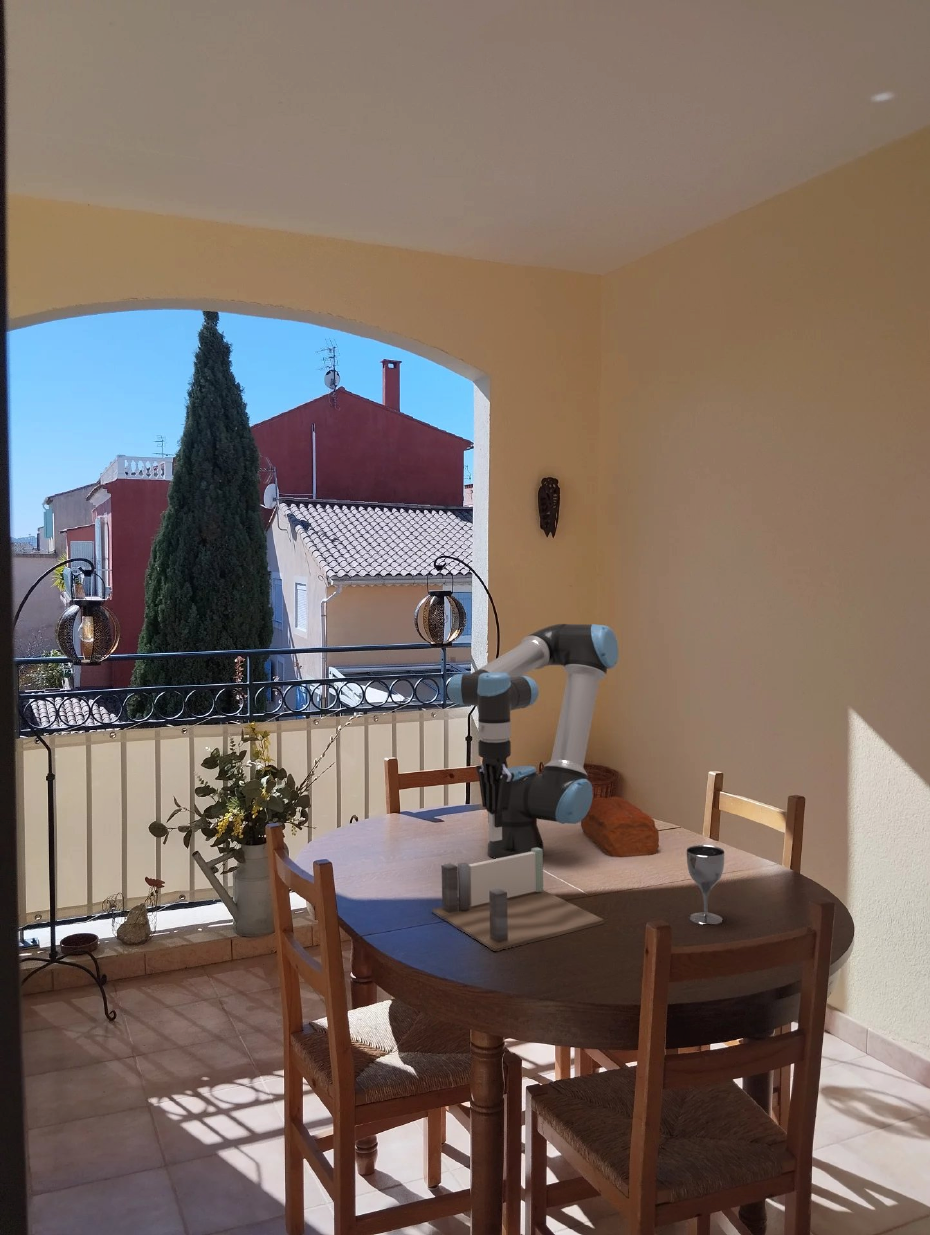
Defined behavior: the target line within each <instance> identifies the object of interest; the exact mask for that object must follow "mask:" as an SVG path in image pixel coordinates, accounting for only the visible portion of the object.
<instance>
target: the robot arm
mask: <svg viewBox="0 0 930 1235" xmlns="http://www.w3.org/2000/svg"><path fill="white" fill-rule="evenodd" d="M618 660H619V644H618V640H617V637H616V634H615V632H614V631H613V629H612V628H611V627H610V626H608V625H605V624H597V623H592V624H584V623H583V624H581V623H580V624H579V623H578V624H577V623H569V624H568V623H558V624H553V625H552V624H551V625H549V626H547V627H544V628H541V629H538V630H537V631H534V632H532V633H531V634H529V635H527V636H524V637H523V639H522V640H521V641H520V643H519V645H517V646H516V647H514V648H512V649H511V650H509V651H507V652H505V653H504V654H502V655H501V656H498V657H497V658H496V659H493V660H491V661H490V662H489V663H486V664H485V665H484V666H482V667H480V668H478V669H477V670H475V671H473V672H471V673H469V674H465V673H460V674H454V675H452V676H451V678H450V679H449V682H448V686H447V692H448V694H447V695H448V697H449V700H450V701H451V702H452V703H454V704H456V705H461V706H462V705H463V706H474V707H475V706H476V707H478V709H477V712H478V714H477V716H478V717H477V718H478V719H477V721H478V725H477V726H478V727H477V730H478V738H479V739H480V740H479V741H478V742H477V743H478V747H477V748H478V749H477V750H478V756H479V757H480V758H482V759H481V760H482V762H481V764H478V765H476V767H475V768H476V772H477V775H478V783H479V789H480V796H481V804H482V807H483V808H486V811H487V815H488V820H487V821H488V842H487V855H488V854H489V855H490V856H491V857H490V856H489V855H488V856H489V857H490V858H492V857H495V858H497V859H498V858H502V857H507V856H512V855H517V854H522V853H527V852H531V849H532V848H537V847H538V848H540V849H543V855H544V854H545V844H544V842H543V839H542V835H541V832H540V829H539V826H538V820H543V821H548V822H549V821H550V822H554V823H555V822H557V823H560V824H561V825H562V824H572V825H574V824H578V823H581V821H582V819H583V818H585V816H586V815H587V813H588V811H589V809H590V806H591V803H592V799H593V798H594V794H593V791H594V789H593V785H592V783H591V782H590V780H588V773H587V772H586V770H585V768H584V763H585V759H586V754H587V749H588V745H589V738H590V732H591V726H592V721H593V716H594V711H595V706H596V700H597V694H598V690H599V683H600V682H601V681H602V680H604V679H605V678H606V677H607V671H608V670H610V669H613V668H615V667H616V664H617V663H618ZM547 666H561V667H562V668H563V670H564V672H565V674H566V675H567V676H566V677H567V678H566V682H565V688H564V692H563V696H562V697H563V698H562V703H561V707H560V714H559V719H558V724H557V728H556V732H555V738H554V742H553V749H552V754H551V757H550V758H551V759H550V761H549V762H548V763H546V764H544V765H543V770H542V773H537V772H538V771H537V768H536V766H533V765H519V766H518V765H517V766H511V767H509V765H508V763H507V759H508V757H510V756H511V754H512V750H511V749H512V748H511V747H512V744H511V742H512V741H510V738H511V737H512V732H511V731H512V728H511V726H512V725H511V722H512V721H511V711H515V710H519V709H526V708H527V707H529V706H532V705H534V704H535V702H536V701H537V700H538V698H539V694H540V693H539V687H538V684H537V683H536V680H534V679H533V678H532V677H530V676H526V675H527V674H528V673H530V672H532V671H533V670H540V669H543V668H544V667H547Z"/></svg>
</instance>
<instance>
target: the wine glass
mask: <svg viewBox="0 0 930 1235" xmlns="http://www.w3.org/2000/svg"><path fill="white" fill-rule="evenodd" d="M686 864H687V869H688V873H689V876H690V878H691V879H692V880H693V882H694V883H695V884H696V885H697V886H698V888H699V889H700V890H701V891H700V892H701V893H702V900H703V912H694V913H692V914H689V916H690V917H688V919H689V918H690V919H689V920H690V921H691V922H693V923H694V924H697V925H699V924H700V925H703V924H715V925H719V924H721V923H723V921H722V920H723V918H722V916H721V915H718V914H716V913H712V912H709V911H708V902H709V894H710V891H711V890H712V889H713V887H714V886H715V885H716V884H717V883H718V882H719V881H720V880H721V878H722V876H723V873H724V868H725V851H724V849H722V848H720V847H717V846H714V845H707V844H704V845H703V844H700V845H693V846H692V845H691V846H689V847H687V848H686Z"/></svg>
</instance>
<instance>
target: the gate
mask: <svg viewBox="0 0 930 1235" xmlns="http://www.w3.org/2000/svg"><path fill="white" fill-rule="evenodd" d="M543 856H544V854H543V849H540V848H538V847H537V848H532V849H531V852H527V853H522V854H517V855H512V856H507V857H502V858H498V859H494V858H492V859H488V860H484V861H480V862H474V863H470V864H469V863H467V862H460V863H458V864H457V867H458V903H459V910H462V911H465V910H469V905H471V906H474V905H478V904H483V903H487V902H489V890H494V889H498V888H500V889H501V890H503V891H505V892H507V898H509V897H513V896H517V895H521V894H526V893H530V892H534V891H535V892H540V891H543V890H544V865H543V864H544V863H543V862H544V861H543Z"/></svg>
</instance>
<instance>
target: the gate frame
mask: <svg viewBox="0 0 930 1235" xmlns="http://www.w3.org/2000/svg"><path fill="white" fill-rule="evenodd" d="M440 867H441V898H442V899H441V905H442V906H441V907H437V908H433V909H431V912H432V911H434V912H435V913H437V915H439V916H441V917H442V918H444V919H445V920H447V921H448V922H450V923H451V924H453V925H455V926H456V927H457V928H459V929H461V930H462V931H463V932H465V933H467V934H469V935H470V936H472V937H473V938H475V939H476V940H478V941H479V942H481V943H483V944H484V945H486V946H487V947H489V948H490V949H492V950H493V951H498V952H500V951H499V950H502V949H506V950H509V949H508V948H510V949H512V948H511V947H513V948H517V947H520V946H519V945H521V946H524V945H528V944H527V943H529V944H531V943H535V942H539V941H544V940H547V939H551V938H554V937H557V936H561V935H566V934H569V933H573V932H577V931H580V930H581V931H582V930H585V929H588V928H592V927H596V926H599V925H603V924H605V919H603V918H601V917H599V916H597V915H595V914H593V913H591V912H589V911H588V910H586V909H583V908H581V907H579V906H577V905H574V904H573V903H571V902H568V901H567V900H564V899H562V898H560V897H558V896H557V895H554V894H552V893H550V892H548V891H546V890H544V889H543V891H540V892H535V891H534V892H530V893H526V894H521V895H517V896H513V897H509V898H507V892H505V891H503V890H501V889H500V888H498V889H494V890H489V902H487V903H483V904H478V905H474V906H471V905H469V910H465V911H462V910H459V895H458V865H455V864H453V863H451V862H450V863H445V864H441V866H440ZM457 928H456V929H457ZM463 932H462V933H463ZM465 933H464V934H465ZM476 940H475V941H476ZM479 942H478V943H479ZM484 945H483V946H484ZM516 946H517V947H516ZM487 947H486V948H487ZM490 949H489V950H490ZM493 951H492V952H493ZM502 951H503V950H502Z"/></svg>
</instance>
